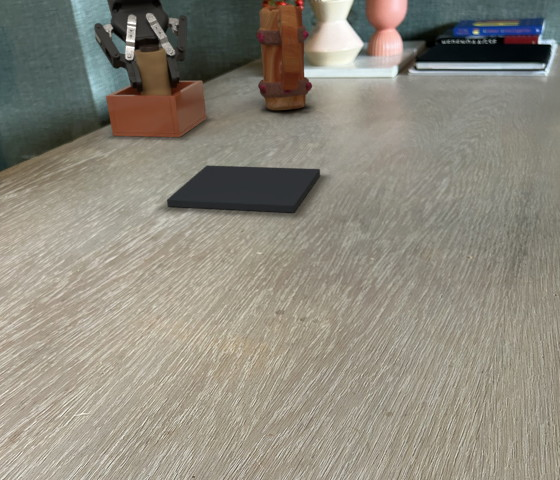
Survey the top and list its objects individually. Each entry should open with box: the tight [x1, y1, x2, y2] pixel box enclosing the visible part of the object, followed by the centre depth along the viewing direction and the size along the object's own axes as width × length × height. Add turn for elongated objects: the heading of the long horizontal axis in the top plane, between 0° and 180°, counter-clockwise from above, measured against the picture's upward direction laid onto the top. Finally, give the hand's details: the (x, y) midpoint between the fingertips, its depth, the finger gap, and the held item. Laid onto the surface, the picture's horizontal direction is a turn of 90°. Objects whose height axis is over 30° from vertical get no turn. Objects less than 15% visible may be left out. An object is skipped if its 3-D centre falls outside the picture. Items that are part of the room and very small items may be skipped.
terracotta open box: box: [105, 80, 207, 138], centre depth 99 cm, size 11×11×6 cm
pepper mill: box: [134, 44, 172, 95], centre depth 97 cm, size 4×4×11 cm
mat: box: [166, 165, 321, 214], centre depth 74 cm, size 14×12×1 cm
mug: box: [255, 4, 313, 111], centre depth 100 cm, size 15×8×15 cm, turn 6°
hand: (157, 86), depth 96 cm, fingers closed on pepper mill, 4 cm apart
